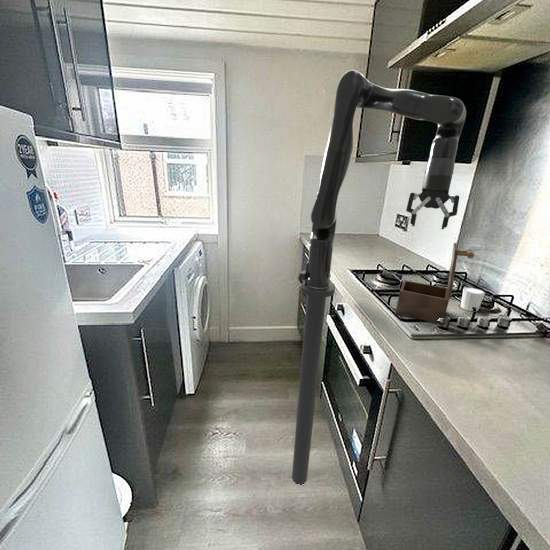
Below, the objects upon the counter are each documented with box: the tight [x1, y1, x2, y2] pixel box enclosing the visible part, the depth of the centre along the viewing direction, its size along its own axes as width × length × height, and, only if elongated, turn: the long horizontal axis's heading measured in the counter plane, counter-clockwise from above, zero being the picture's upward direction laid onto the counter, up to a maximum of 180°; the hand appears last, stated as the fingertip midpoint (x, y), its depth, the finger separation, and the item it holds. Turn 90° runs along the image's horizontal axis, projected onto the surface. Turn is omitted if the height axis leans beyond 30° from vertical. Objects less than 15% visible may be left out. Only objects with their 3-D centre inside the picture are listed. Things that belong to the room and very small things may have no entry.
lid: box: [447, 242, 475, 300], centre depth 97 cm, size 16×13×5 cm
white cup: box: [460, 287, 486, 312], centre depth 111 cm, size 7×7×7 cm
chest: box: [395, 280, 450, 326], centre depth 105 cm, size 15×13×9 cm
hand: (427, 227), depth 97 cm, fingers open, 8 cm apart
